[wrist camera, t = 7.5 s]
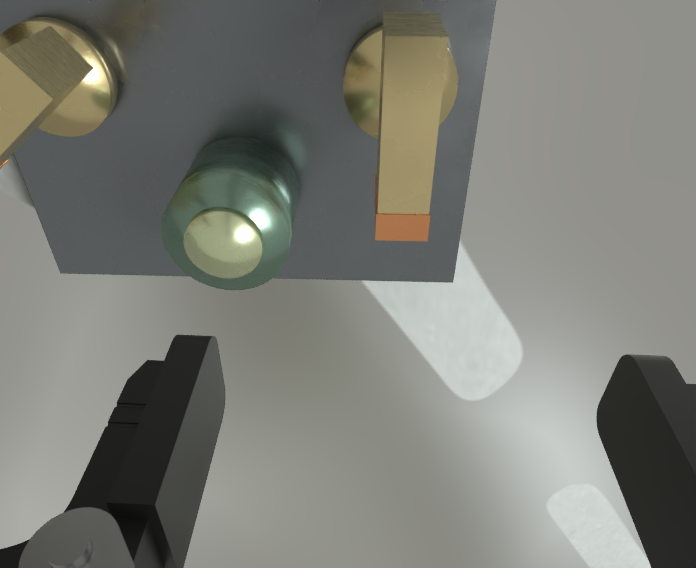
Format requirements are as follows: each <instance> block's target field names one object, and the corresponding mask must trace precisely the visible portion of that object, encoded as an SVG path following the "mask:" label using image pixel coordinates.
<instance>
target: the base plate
mask: <svg viewBox="0 0 696 568" xmlns="http://www.w3.org/2000/svg"><path fill="white" fill-rule="evenodd" d="M495 6H496V0H0V36H1V35H2V34H3V32H4V31H6V30H7V29H8V28H10V27H12V26H14V25H16V24H18V23H20V22H22V21H25V20H27V19H30V18H34V17H53V18H58V19H61V20H64V21H67V22H69V23H71V24H73V25H75V26H77V27H78V28H80V29H82V30H83V31H84V32H86V33H87V34H88V35H89V36H90V37H92V38H93V39H94V40H95V41H96V42H97V44H98V45H99V46H100V47H101V48H102V50H103V51H104V52H105V54H106V55H107V57H108V59H109V60H110V62H111V64H112V67H113V69H114V72H115V75H116V80H117V87H118V94H117V101H116V104H115V107H114V109H113V111H112V113H111V114H110V115H109V116H108V118H107V119H106V120H105V121H104V122H103V123H102V124H101V125H100V126H99V127H97V128H96V129H95V130H93V131H92V132H90V133H88V134H85V135H81V136H75V137H65V136H59V135H54V134H51V133H48V132H45V131H43V130H41V129H39V128H37V129H36V130H35V131H34V132H33V133H32V134H31V135H30V136H29V137H28V138H27V139H26V140H25V141H24V142H23V143H22V145H21V146H20V147H19V148H18V149H17V150H16V151H15V152H14V155H15V158H16V160H17V163H18V166H19V168H20V171H21V173H22V176H23V178H24V181H25V184H26V186H27V189H28V191H29V194H30V196H31V199H32V201H33V204H34V207H35V209H36V212H37V214H38V217H39V219H40V222H41V224H42V227H43V229H44V232H45V235H46V237H47V240H48V242H49V245H50V248H51V250H52V253H53V255H54V258H55V260H56V263H57V265H58V268H59V270H60V273H68V274H72V273H73V274H112V275H154V276H155V275H156V276H191V277H192V278H194V279H195V280H197V281H199V282H201V283H203V284H206V285H209V286H212V287H216V288H220V289H225V290H244V289H250V288H254V287H257V286H260V285H262V284H264V283H266V282H268V281H269V280H271V279H272V278H283V279H286V278H287V279H326V280H369V281H412V282H453V279H454V273H455V266H456V260H457V253H458V247H459V240H460V234H461V227H462V221H463V214H464V208H465V201H466V195H467V188H468V182H469V175H470V169H471V162H472V156H473V149H474V142H475V136H476V129H477V123H478V117H479V110H480V103H481V97H482V90H483V84H484V78H485V71H486V65H487V58H488V52H489V45H490V39H491V32H492V25H493V19H494V12H495ZM383 11H412V12H438V14H439V16H440V19H441V21H442V23H443V26H444V28H445V30H446V32H447V35H448V48H449V50H450V52H451V54H452V57H453V59H454V62H455V65H456V69H457V73H458V90H457V96H456V99H455V102H454V105H453V107H452V109H451V111H450V113H449V114H448V116H447V117H446V119H445V120H444V121H443V122H442V123H441V124H440V125H439V128H438V137H437V146H436V155H435V165H434V174H433V183H432V192H431V201H430V223H429V232H428V241H384V240H375V172H377V151H378V139H377V138H375V137H373V136H371V135H369V134H367V133H366V132H365V131H363V130H362V129H361V128H360V127H359V126H358V125H357V124H356V123H355V122H354V120H353V119H352V117H351V116H350V114H349V112H348V110H347V107H346V104H345V100H344V95H343V80H344V72H345V67H346V64H347V61H348V58H349V56H350V54H351V52H352V50H353V48H354V47H355V45H356V44H357V43H358V42H359V41H360V39H361V38H363V37H364V36H365V35H366V34H367V33H369V32H370V31H371V30H373V29H375V28H377V27H379V26H381V25H383Z"/></svg>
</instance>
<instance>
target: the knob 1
mask: <svg viewBox="0 0 696 568" xmlns="http://www.w3.org/2000/svg"><path fill="white" fill-rule="evenodd" d="M117 94H118V87H117V80H116V75H115V72H114V69H113V67H112V64H111V62H110V60H109V59H108V57H107V55H106V54H105V52H104V51H103V50H102V48H101V47H100V46H99V45H98V44H97V42H96V41H95V40H94V39H93V38H92V37H90V36H89V35H88V34H87V33H86V32H84V31H83V30H82V29H80V28H78V27H77V26H75V25H73V24H71V23H69V22H67V21H64V20H61V19H58V18H53V17H34V18H30V19H27V20H25V21H22V22H20V23H18V24H16V25H14V26H12V27H10V28H8V29H7V30H6V31H4V32H3V34H2V35H1V36H0V169H1V168H2V167H3V165H4V164H5V163H6V162H7V161H8V160H7V159H8V158H9V157H10V156H11V155H12V154H13V153H14V152H15V151H16V150H17V149H18V148H19V147H20V146H21V145H22V143H23V142H24V141H25V140H26V139H27V138H28V137H29V136H30V135H31V134H32V133H33V132H34V131H35V130H36V129H37V128H39V129H41V130H43V131H45V132H48V133H51V134H54V135H59V136H65V137H75V136H81V135H85V134H88V133H90V132H92V131H93V130H95V129H96V128H97V127H99V126H100V125H101V124H102V123H103V122H104V121H105V120H106V119H107V118H108V116H109V115H110V114H111V113H112V111H113V109H114V107H115V104H116V101H117Z"/></svg>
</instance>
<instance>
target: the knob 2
mask: <svg viewBox="0 0 696 568" xmlns="http://www.w3.org/2000/svg"><path fill="white" fill-rule="evenodd" d="M457 90H458V73H457V69H456V65H455V62H454V59H453V57H452V54H451V52H450V50H449V48H448V35H447V32H446V30H445V28H444V26H443V23H442V21H441V19H440V16H439V14H438V12H412V11H383V25H381V26H379V27H377V28H375V29H373V30H371V31H370V32H369V33H367V34H366V35H365V36H364V37H363V38H361V39H360V41H359V42H358V43H357V44H356V45H355V47H354V48H353V50H352V52H351V54H350V56H349V58H348V61H347V64H346V67H345V72H344V80H343V95H344V100H345V104H346V107H347V110H348V112H349V114H350V116H351V117H352V119H353V120H354V122H355V123H356V124H357V125H358V126H359V127H360V128H361V129H362V130H363V131H365V132H366V133H367V134H369V135H371V136H373V137H375V138H377V139H378V151H377V172H375V240H384V241H428V232H429V223H430V201H431V192H432V183H433V174H434V165H435V155H436V146H437V137H438V128H439V125H440V124H441V123H442V122H443V121H444V120H445V119H446V117H447V116H448V114H449V113H450V111H451V109H452V107H453V105H454V102H455V99H456V96H457Z"/></svg>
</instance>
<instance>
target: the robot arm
mask: <svg viewBox="0 0 696 568" xmlns="http://www.w3.org/2000/svg"><path fill="white" fill-rule="evenodd" d="M224 406H225V385H224V379H223V373H222V367H221V361H220V355H219V349H218V343H217V339H216V337H214V336H194V335H176V336H175V338H174V339H173V341H172V343H171V345H170V348H169V351H168V353H167V355H166V358H165V360H164V361H155V360H147V361H146V362H145V363H144V364H143V365H142V366H141V367H140V368H139V369H138V370H137V371H136V372H135V373H134V374H133V375H132V376H131V377H130V378H129V379H128V380H127V382H126V384H125V386H124V388H123V391H122V393H121V395H120V397H119V399H118V401H117V407H115V408H114V410H113V412H112V414H111V416H110V419H109V421H108V426H107V427H105V429H104V431H103V434H102V436H101V438H100V440H99V442H98V444H97V447H96V449H95V451H94V453H93V455H92V457H91V460H90V462H89V464H88V466H87V468H86V470H85V472H84V475H83V477H82V479H81V481H80V483H79V485H78V487H77V490H76V492H75V494H74V496H73V498H72V500H71V502H70V504H69V505H68V507H67V508H66V510H65V511H64V513H62V514H59V515H58V516H56V517H54V518H52V519H51V520H49V521H48V522H47V523H46V524H44V525H43V526H42V527H41V528H40V529H39V530H38V531H36V533H35V534H34V535H33V537H31V539H29V540H27V541H25V542H23V543H20V544H17V545H14V546H11V547H8V548H4V549H0V568H183V567H184V563H185V559H186V555H187V552H188V548H189V544H190V540H191V536H192V533H193V529H194V525H195V521H196V518H197V514H198V510H199V506H200V502H201V499H202V495H203V491H204V487H205V483H206V480H207V476H208V472H209V468H210V464H211V461H212V457H213V453H214V449H215V445H216V442H217V437H218V434H219V430H220V427H221V423H222V419H223V413H224V408H225V407H224ZM597 428H598V432H599V435H600V438H601V441H602V443H603V446H604V448H605V451H606V453H607V456H608V459H609V461H610V464H611V466H612V469H613V471H614V474H615V476H616V479H617V481H618V484H619V486H620V489H621V491H622V494H623V496H624V499H625V501H626V504H627V507H628V509H629V511H630V514H631V517H632V519H633V522H634V524H635V527H636V530H637V532H638V535H639V537H640V540H641V542H642V544H643V547H644V550H645V552H646V555H647V557H648V560H649V562H650V565H651V568H696V384H686V383H685V381H684V380H683V378H682V376H681V374H680V373H679V371H678V369H677V368H676V366H675V364H674V363H673V361H672V360H671V359H670V358H668V357H666V356H651V355H624V356H622V357H621V358H620V360H619V362H618V364H617V366H616V368H615V370H614V372H613V374H612V377H611V379H610V381H609V383H608V385H607V388H606V390H605V392H604V394H603V396H602V398H601V400H600V403H599V405H598V409H597Z"/></svg>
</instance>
